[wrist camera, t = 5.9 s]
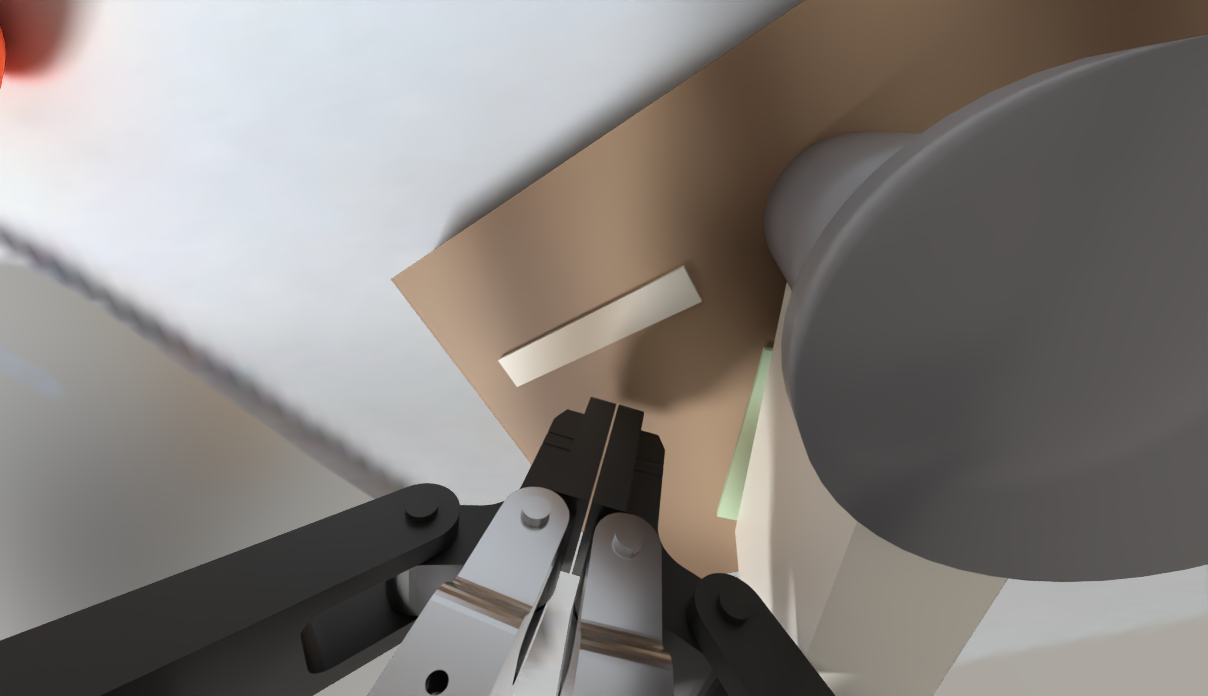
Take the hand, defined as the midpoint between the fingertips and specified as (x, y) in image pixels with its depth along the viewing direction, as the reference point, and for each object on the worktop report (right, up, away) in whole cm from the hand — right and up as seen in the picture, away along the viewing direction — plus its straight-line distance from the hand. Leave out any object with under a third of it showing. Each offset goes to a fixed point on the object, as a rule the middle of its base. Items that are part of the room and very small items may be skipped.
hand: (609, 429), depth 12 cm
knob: (+5, +2, -1) cm, 5 cm away
